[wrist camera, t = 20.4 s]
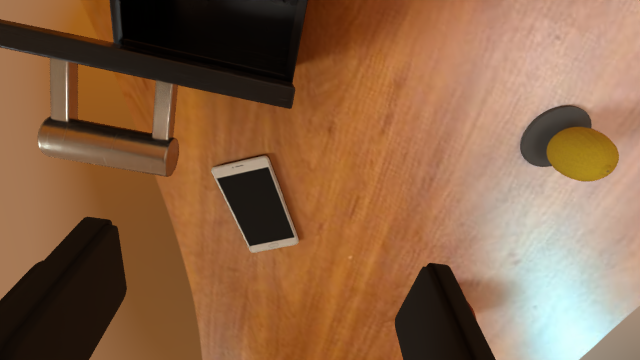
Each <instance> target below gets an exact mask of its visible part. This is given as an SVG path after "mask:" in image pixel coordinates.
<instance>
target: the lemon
mask: <svg viewBox="0 0 640 360" xmlns="http://www.w3.org/2000/svg"><path fill="white" fill-rule="evenodd" d="M547 157H548V160H549V162H550V163H551V165H552V166H553V167H554V168H555V169H556V170H557V171H558V172H560V173H561V174H563V175H565V176H567V177H569V178H572V179H575V180H579V181H595V180H599V179H601V178H604V177H606V176H608V175H609V174H610V173H611V172H612V171H613V170H614V169H615V167H616V166H617V163H618V160H619V154H618V150H617V148H616V146H615V145H614V144H613V142H612V141H611V140H610V139H609V138H608V137H607V136H605V135H604V134H602V133H600V132H598V131H596V130H594V129H591V128H586V127H571V128H567V129H564V130H562V131H560V132H558V133H557V134H556V135H554V136H553V137H552V139H551V140H550V142H549V143H548V146H547Z"/></svg>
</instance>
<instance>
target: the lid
mask: <svg viewBox="0 0 640 360" xmlns="http://www.w3.org/2000/svg"><path fill="white" fill-rule="evenodd" d="M0 47H1V48H5V49H10V50H15V51H19V52H24V53H29V54H34V55H38V56H43V57H48V58H50V90H51V91H50V94H51V116H50V117H48V118H47V119H45V120H44V122H43V123H42V125H41V127H40V129H39V132H38V145H39V148H40V150H41V151H42V153H43V154H45V155H47V156H49V157H54V158H61V159H66V160H72V161H79V162H84V163H90V164H95V165H101V166H107V167H113V168H119V169H125V170H131V171H137V172H142V173H148V174H154V175H160V176H166V177H169V176H171V175H172V174H173V172H174V170H175V168H176V165H177V161H178V156H179V143H178V140H177V139H176V138H174V137H173V134H174V123H175V112H176V100H177V89H178V85H180V86H185V87H189V88H194V89H199V90H203V91H208V92H213V93H218V94H222V95H227V96H232V97H237V98H241V99H246V100H251V101H255V102H260V103H265V104H270V105H274V106H279V107H284V108H288V109H291V108H292V105H293V100H294V94H295V87H294V85H293V83H291V82H287V81H282V80H278V79H274V78H269V77H265V76H260V75H256V74H251V73H247V72H242V71H238V70H233V69H229V68H224V67H220V66H216V65H211V64H207V63H202V62H198V61H193V60H189V59H184V58H180V57H175V56H171V55H166V54H162V53H157V52H153V51H149V50H144V49H140V48H135V47H131V46H126V45H122V44H117V43H113V42H108V41H103V40H98V39H93V38H88V37H84V36H79V35H74V34H69V33H64V32H59V31H55V30H50V29H45V28H40V27H34V26H30V25H25V24H20V23H16V22H11V21H5V20H1V19H0ZM78 64H81V65H85V66H90V67H95V68H100V69H105V70H109V71H114V72H118V73H123V74H128V75H133V76H137V77H142V78H147V79H152V80H156V88H155V102H154V117H153V131H152V133H147V132H142V131H137V130H131V129H126V128H121V127H115V126H110V125H105V124H100V123H94V122H89V121H83V120H78Z"/></svg>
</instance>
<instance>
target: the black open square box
mask: <svg viewBox="0 0 640 360" xmlns="http://www.w3.org/2000/svg"><path fill="white" fill-rule="evenodd" d="M307 2H308V0H110V9H111V20H112V30H113V40H114V43H117V44H122V45H126V46H131V47H135V48H140V49H144V50H149V51H153V52H157V53H162V54H166V55H171V56H175V57H180V58H184V59H189V60H193V61H198V62H202V63H207V64H211V65H216V66H220V67H224V68H229V69H233V70H238V71H242V72H247V73H251V74H256V75H260V76H265V77H269V78H274V79H278V80H282V81H287V82H291V83H293V77H294V72H295V66H296V61H297V56H298V50H299V45H300V40H301V34H302V29H303V24H304V18H305V13H306V7H307Z"/></svg>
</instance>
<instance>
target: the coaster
mask: <svg viewBox="0 0 640 360" xmlns="http://www.w3.org/2000/svg"><path fill="white" fill-rule="evenodd" d="M571 127H586V128H591V119H590V117H589V115H588V114H587V113H586V112H585V111H584V110H582V109H580V108H578V107H575V106H560V107H556V108H553V109H550V110H548V111H546V112H544V113H543V114H541V115H540V116H538V117H537V118H536V119H535V120H534V121H533V122H532V123H531V124H530V125H529V126H528V128H527V129H526V131H525V132H524V134H523V137H522V140H521V153H522V155H523V157H524V158H525V159H526V160H527V161H528V162H529V163H531V164H533V165H535V166H540V167H548V166H552V165H551V163H550V162H549V160H548V157H547V146H548V143H549V142H550V140H551V139H552V137H553V136H554V135H556V134H557V133H558V132H560V131H562V130H564V129H567V128H571Z"/></svg>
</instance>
